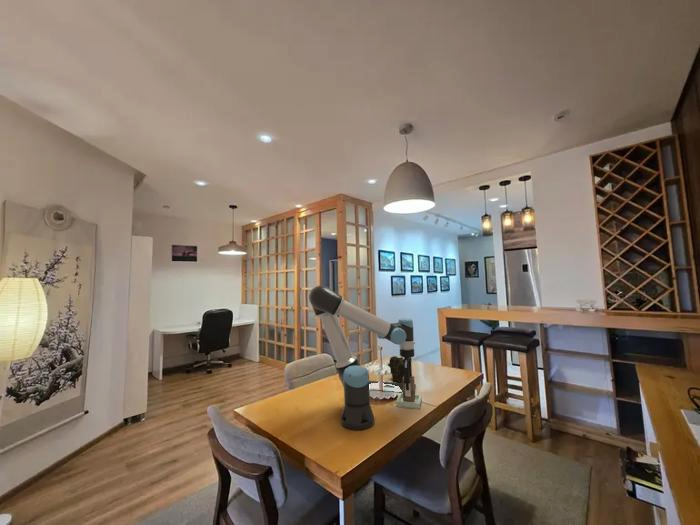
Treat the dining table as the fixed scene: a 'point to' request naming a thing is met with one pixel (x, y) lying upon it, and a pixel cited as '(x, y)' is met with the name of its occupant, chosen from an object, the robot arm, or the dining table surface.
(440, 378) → the dining table surface
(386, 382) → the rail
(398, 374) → the rock
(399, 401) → the tray
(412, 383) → the block
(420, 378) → the dining table surface
